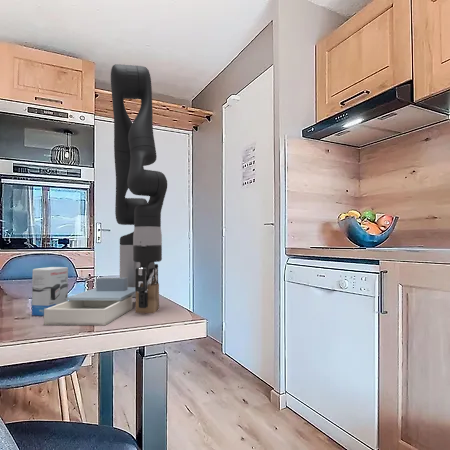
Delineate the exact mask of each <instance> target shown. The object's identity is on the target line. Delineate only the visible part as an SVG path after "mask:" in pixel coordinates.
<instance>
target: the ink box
mask: <svg viewBox="0 0 450 450" xmlns="http://www.w3.org/2000/svg"><path fill="white" fill-rule="evenodd" d="M31 280H32V285H31V286H32V287H31V288H32V290H31V316H39V317H40V316H41V317H42V316H43V317H44V309H46V308H49V307H52V306H55V305H58V304H61V303H64V302H66V301H69V300H67V297H69V295H68V293H69V292H68V291H69V290H68V289H69V284H68V283H69V266H67V267H66V266H65V267H64V266H49V267H40V268H33V269H32V278H31Z"/></svg>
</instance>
